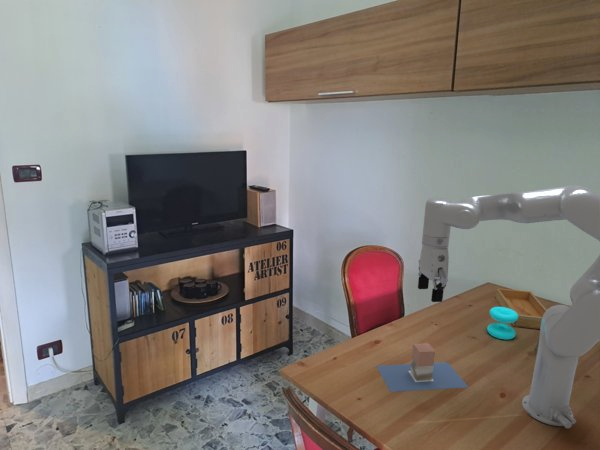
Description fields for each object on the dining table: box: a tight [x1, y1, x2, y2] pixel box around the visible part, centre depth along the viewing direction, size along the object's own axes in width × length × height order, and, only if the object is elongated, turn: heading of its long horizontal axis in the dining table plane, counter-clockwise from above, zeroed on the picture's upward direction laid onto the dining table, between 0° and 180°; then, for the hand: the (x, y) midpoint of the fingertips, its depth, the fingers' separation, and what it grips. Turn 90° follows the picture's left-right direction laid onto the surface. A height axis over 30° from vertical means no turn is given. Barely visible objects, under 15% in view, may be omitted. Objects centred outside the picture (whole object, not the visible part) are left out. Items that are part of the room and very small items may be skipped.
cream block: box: [410, 358, 433, 381], centre depth 133 cm, size 5×5×5 cm
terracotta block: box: [411, 342, 436, 367], centre depth 132 cm, size 5×5×5 cm
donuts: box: [486, 306, 518, 341], centre depth 162 cm, size 10×10×10 cm
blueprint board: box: [376, 361, 469, 393], centre depth 134 cm, size 14×25×1 cm, turn 97°
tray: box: [494, 288, 548, 330], centre depth 183 cm, size 31×15×6 cm, turn 168°
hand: (429, 294), depth 127 cm, fingers open, 9 cm apart
